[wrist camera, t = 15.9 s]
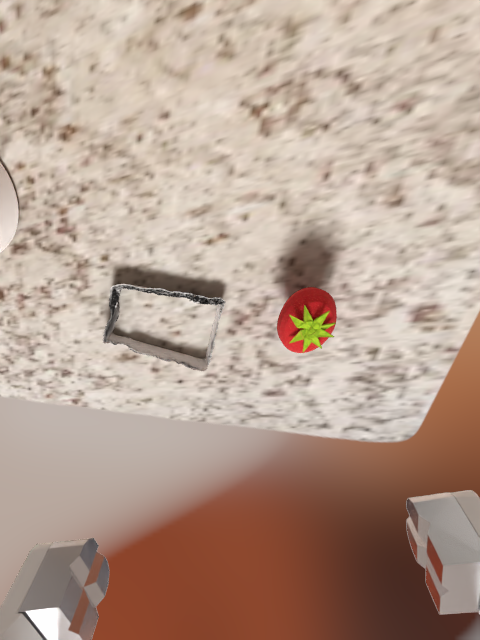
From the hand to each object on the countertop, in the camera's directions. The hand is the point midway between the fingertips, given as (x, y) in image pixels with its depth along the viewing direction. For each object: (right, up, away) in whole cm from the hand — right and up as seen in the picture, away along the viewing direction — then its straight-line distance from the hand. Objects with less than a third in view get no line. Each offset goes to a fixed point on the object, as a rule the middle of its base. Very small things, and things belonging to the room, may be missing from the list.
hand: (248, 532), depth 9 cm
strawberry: (+7, +8, +35) cm, 36 cm away
